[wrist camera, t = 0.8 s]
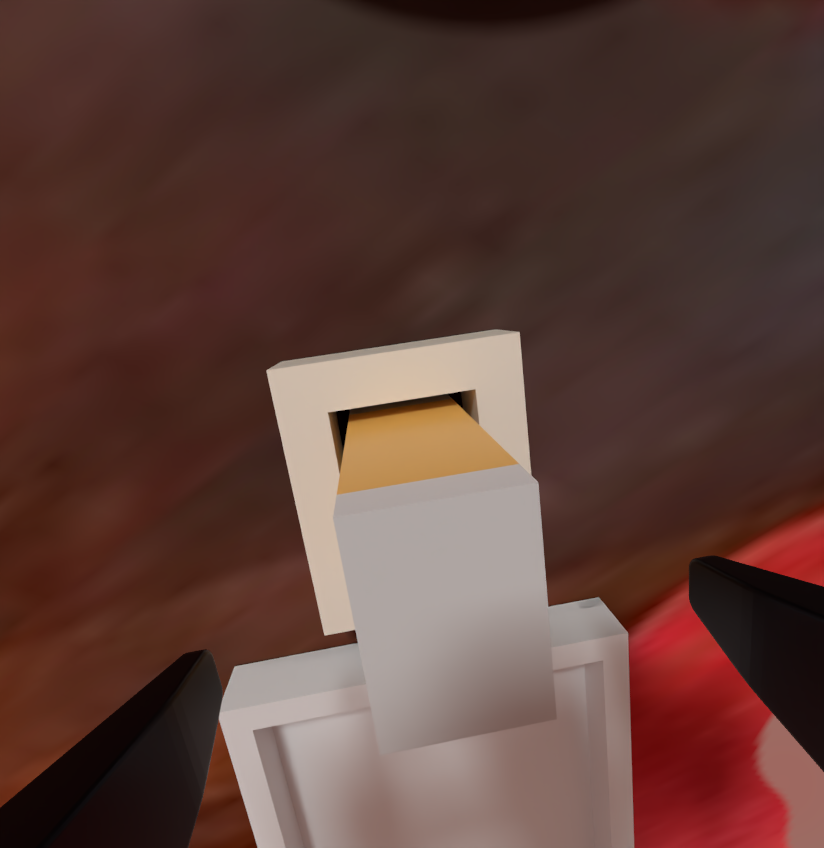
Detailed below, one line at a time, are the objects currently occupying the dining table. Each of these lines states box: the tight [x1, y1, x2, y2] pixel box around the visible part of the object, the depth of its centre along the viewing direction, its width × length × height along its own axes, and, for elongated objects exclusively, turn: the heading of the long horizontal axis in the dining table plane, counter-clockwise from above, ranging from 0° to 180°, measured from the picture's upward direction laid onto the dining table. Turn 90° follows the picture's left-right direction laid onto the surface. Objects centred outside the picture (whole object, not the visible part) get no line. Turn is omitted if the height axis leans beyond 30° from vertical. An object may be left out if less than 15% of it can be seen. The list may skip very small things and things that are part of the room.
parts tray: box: [219, 597, 634, 848], centre depth 20 cm, size 15×17×2 cm
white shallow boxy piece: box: [266, 329, 531, 635], centre depth 16 cm, size 8×9×2 cm
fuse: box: [333, 394, 557, 755], centre depth 13 cm, size 4×5×9 cm
